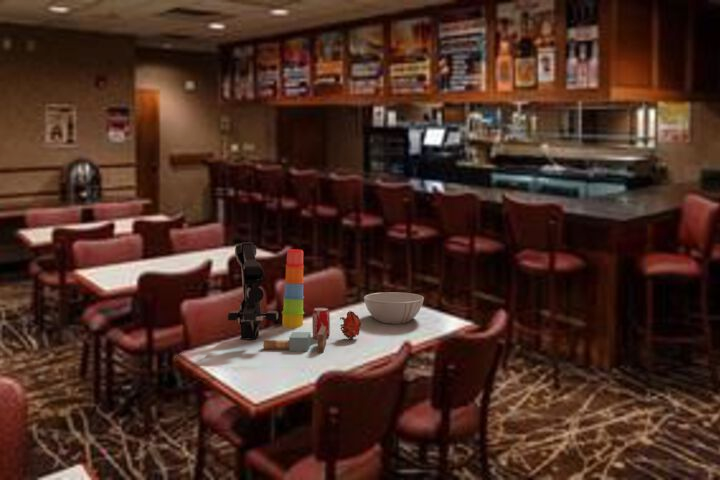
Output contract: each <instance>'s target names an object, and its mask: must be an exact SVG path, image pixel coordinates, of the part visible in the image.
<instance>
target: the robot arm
mask: <svg viewBox="0 0 720 480" xmlns="http://www.w3.org/2000/svg"><path fill="white" fill-rule="evenodd" d="M234 256H235V257H236V262H237V264H238V265H239V266H240V267H241V280H242V281H241V282H242V283H241V284H242V285H241V286H242V301H241V303H240V306H239V309H238V310H230V312H229V313H228V314H227V321H238V324H239V325H240V337H239V339H240V340H256V339H257V338H258V337H259V336H260V324H262V323H263V321H265V319H266V320H267V321H270V322H271V321H272V322H276V321H277V320H278V319H279V312H278V311H277V310H267V312H263V308H262V307H261V306H262V305H261V302H262V300H263V298H264V296H265V293H264V291H263V289H262V288H261V284H262V285H265V281H266V276H265V274H266V273H265V270H264V268H263V267H262V266H261V263H260V262H259V261H257V259H256V256H257V245H256V244H255V243H254V242H250V241H249V242H245V241H244V242H241V243H240V244H238V245H236V246H235V247H234ZM237 319H238V320H237Z"/></svg>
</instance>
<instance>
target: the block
mask: <svg viewBox="0 0 720 480" xmlns="http://www.w3.org/2000/svg"><path fill="white" fill-rule="evenodd" d="M310 348H311V331H310V332H308V331H293V332H292V333H291V334H290V336H289V350H288V351H289V352H309V349H310Z"/></svg>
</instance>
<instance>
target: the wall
mask: <svg viewBox="0 0 720 480" xmlns="http://www.w3.org/2000/svg"><path fill="white" fill-rule="evenodd" d="M326 346H327V338H326V326H321V328H320V330H319V332H318V339H317V353H319V354H323V353H324V351H325V349H326Z"/></svg>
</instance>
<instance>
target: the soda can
mask: <svg viewBox="0 0 720 480" xmlns="http://www.w3.org/2000/svg"><path fill="white" fill-rule="evenodd" d="M330 316H331V315H330V311H329V308H327V307H315V308H314V309H313V311H312V319H311V320H312V321H311V322H312V324H311V325H312V337H313V338H315V339H317V340H318V332H319V330H320V328H321V326H326V339H328V338H329V337H330V333H331V332H330V331H331V329H330V328H331V319H330V318H331V317H330Z"/></svg>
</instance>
